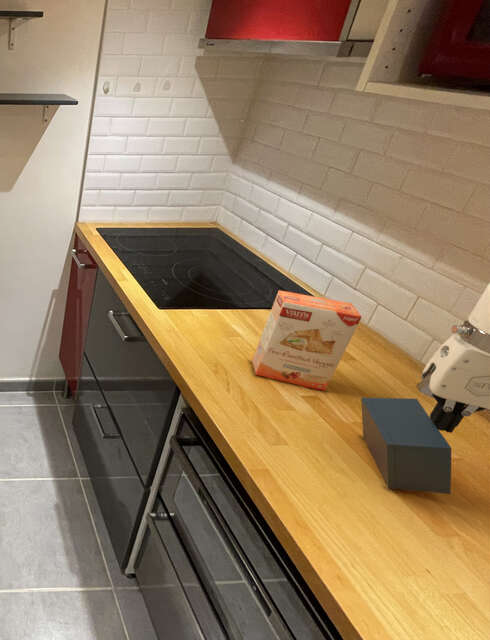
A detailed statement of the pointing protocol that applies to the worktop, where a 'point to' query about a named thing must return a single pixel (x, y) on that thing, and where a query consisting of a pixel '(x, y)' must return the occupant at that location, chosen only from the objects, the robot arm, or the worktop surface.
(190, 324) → the worktop surface
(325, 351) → the cracker box
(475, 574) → the worktop surface
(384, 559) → the worktop surface
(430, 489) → the grey open box
